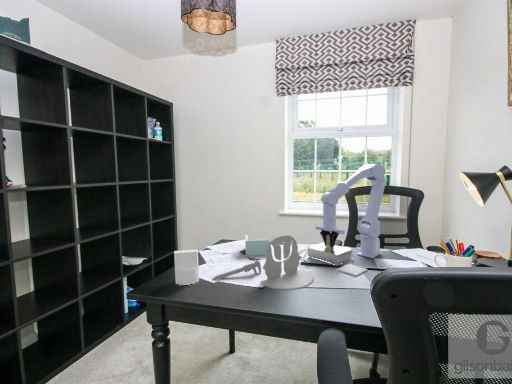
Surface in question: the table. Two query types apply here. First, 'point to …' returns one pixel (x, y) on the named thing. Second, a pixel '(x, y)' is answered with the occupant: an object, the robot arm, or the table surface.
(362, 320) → the table surface
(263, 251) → the l-shaped corner panel
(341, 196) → the robot arm
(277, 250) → the ornament
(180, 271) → the white rounded upright block
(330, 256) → the guard box
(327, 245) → the long tan rectangular block
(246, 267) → the caliper
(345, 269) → the pad
